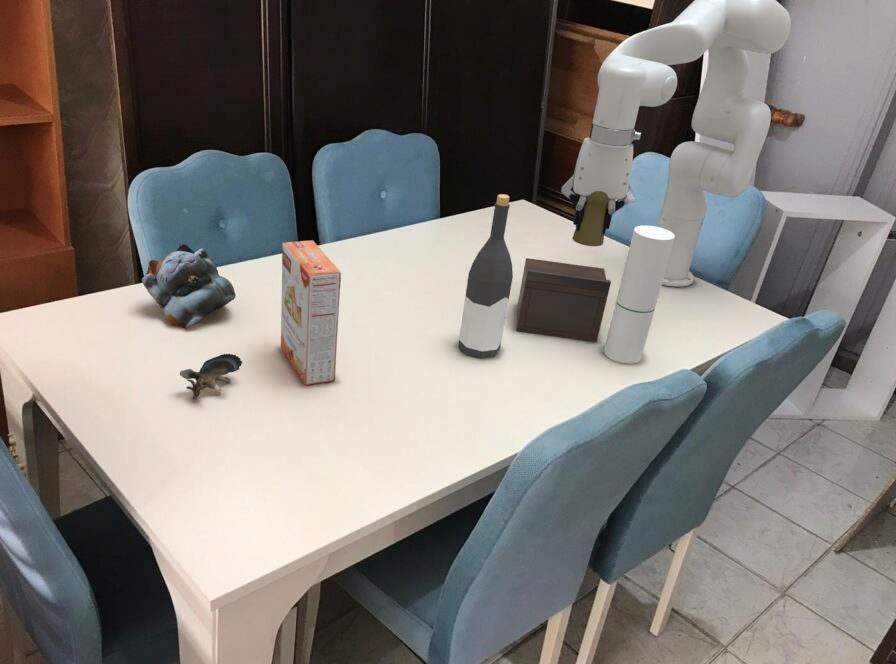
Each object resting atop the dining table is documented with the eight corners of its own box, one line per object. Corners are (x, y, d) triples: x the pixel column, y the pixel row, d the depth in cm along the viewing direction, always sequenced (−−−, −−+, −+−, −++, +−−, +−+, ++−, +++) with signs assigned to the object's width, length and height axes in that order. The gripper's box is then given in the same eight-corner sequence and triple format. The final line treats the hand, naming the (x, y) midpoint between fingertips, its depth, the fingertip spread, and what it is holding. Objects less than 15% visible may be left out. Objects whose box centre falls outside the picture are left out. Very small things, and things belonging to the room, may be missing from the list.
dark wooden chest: (517, 306, 179) (527, 248, 172) (592, 316, 177) (606, 259, 171) (516, 330, 169) (527, 270, 162) (596, 342, 167) (611, 282, 161)
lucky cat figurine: (172, 335, 155) (139, 264, 151) (161, 331, 166) (130, 265, 162) (245, 301, 159) (214, 232, 156) (230, 299, 170) (201, 235, 166)
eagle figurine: (221, 404, 134) (252, 372, 140) (196, 369, 131) (228, 337, 138) (192, 412, 139) (223, 380, 145) (167, 378, 136) (199, 347, 142)
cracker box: (278, 348, 154) (280, 240, 143) (309, 345, 156) (314, 238, 145) (302, 387, 143) (307, 273, 132) (335, 382, 145) (343, 270, 135)
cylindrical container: (642, 350, 166) (675, 230, 153) (639, 366, 160) (673, 242, 147) (605, 342, 167) (635, 222, 155) (601, 358, 161) (632, 234, 149)
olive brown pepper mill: (603, 248, 161) (616, 192, 156) (572, 243, 162) (584, 187, 157) (602, 237, 167) (615, 183, 161) (572, 233, 167) (583, 178, 162)
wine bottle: (476, 334, 165) (500, 185, 150) (508, 350, 161) (536, 198, 146) (449, 346, 160) (470, 193, 145) (481, 363, 156) (507, 206, 140)
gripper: (654, 136, 157) (631, 229, 166) (564, 125, 158) (546, 218, 167) (660, 146, 150) (635, 242, 159) (565, 134, 152) (547, 231, 161)
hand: (590, 229), depth 163 cm, fingers closed on olive brown pepper mill, 4 cm apart
